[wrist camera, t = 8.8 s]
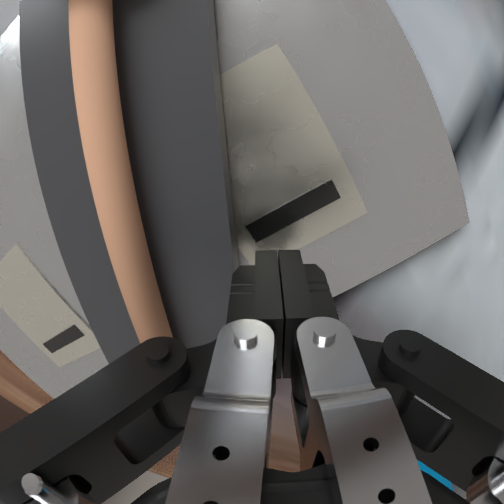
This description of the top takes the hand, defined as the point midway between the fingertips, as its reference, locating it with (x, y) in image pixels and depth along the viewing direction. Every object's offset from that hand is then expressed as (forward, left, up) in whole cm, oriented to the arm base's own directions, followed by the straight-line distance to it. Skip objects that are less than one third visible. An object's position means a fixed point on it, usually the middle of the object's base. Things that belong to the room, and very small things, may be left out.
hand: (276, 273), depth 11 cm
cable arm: (-2, +6, -1) cm, 6 cm away
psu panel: (-6, +6, -3) cm, 8 cm away
